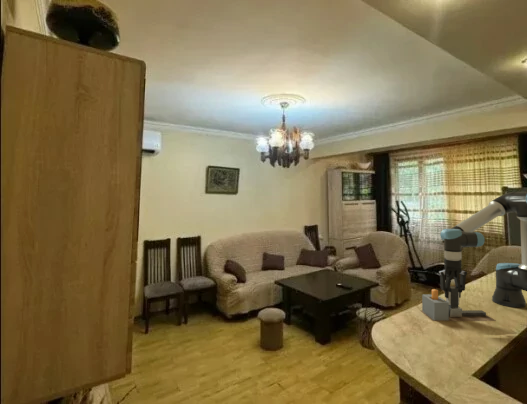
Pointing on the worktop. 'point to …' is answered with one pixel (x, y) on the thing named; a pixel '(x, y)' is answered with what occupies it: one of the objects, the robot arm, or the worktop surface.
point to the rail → (473, 313)
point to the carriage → (454, 303)
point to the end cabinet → (435, 307)
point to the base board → (465, 318)
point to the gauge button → (434, 294)
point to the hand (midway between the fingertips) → (452, 303)
